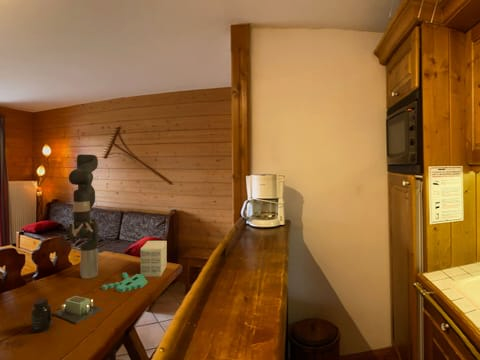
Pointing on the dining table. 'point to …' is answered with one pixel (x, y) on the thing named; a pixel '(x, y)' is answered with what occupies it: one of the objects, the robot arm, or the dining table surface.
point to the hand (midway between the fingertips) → (81, 241)
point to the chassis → (76, 317)
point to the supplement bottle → (40, 316)
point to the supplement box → (153, 258)
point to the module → (77, 304)
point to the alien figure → (128, 283)
